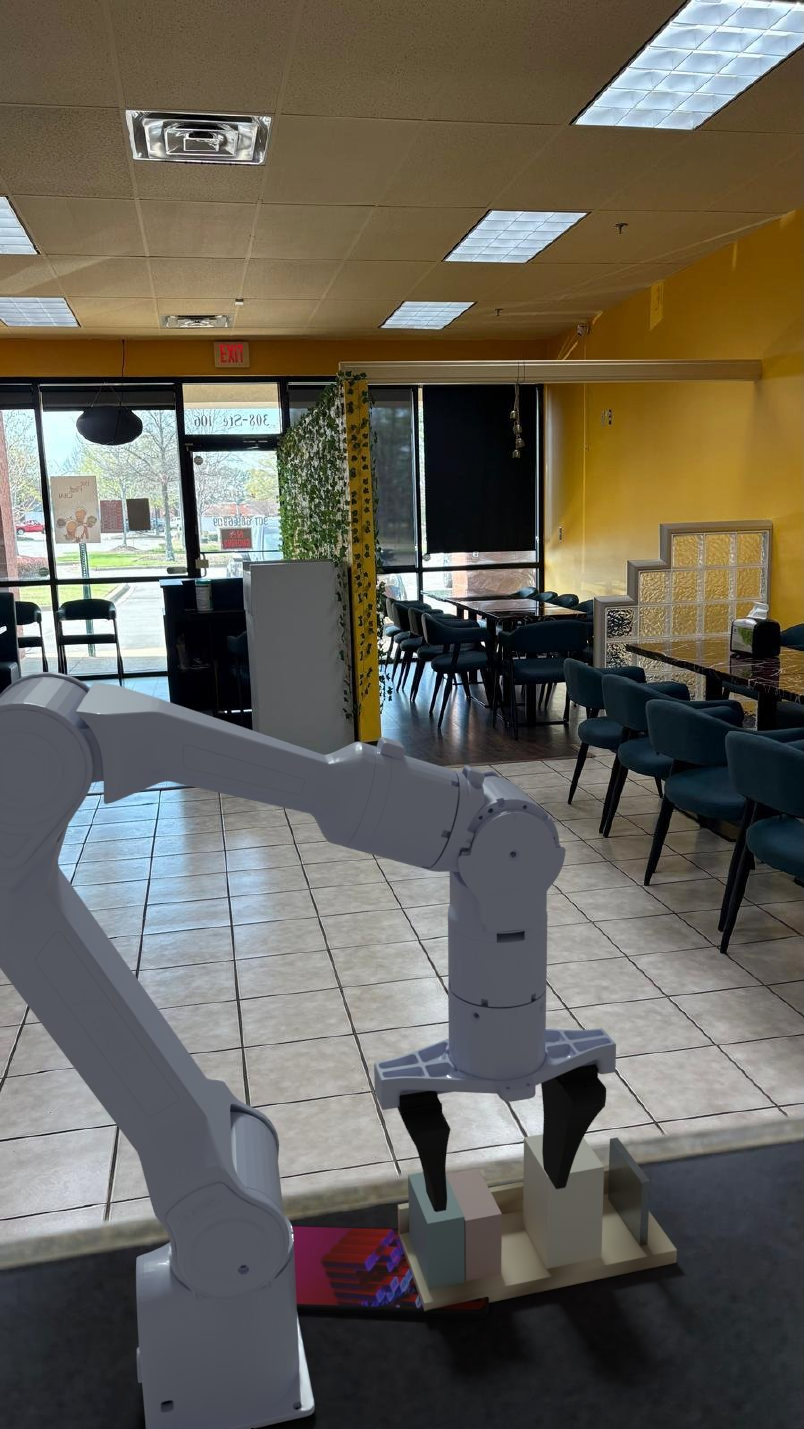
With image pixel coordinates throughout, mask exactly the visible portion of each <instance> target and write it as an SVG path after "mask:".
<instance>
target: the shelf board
mask: <svg viewBox="0 0 804 1429" xmlns="http://www.w3.org/2000/svg"><path fill="white" fill-rule="evenodd" d="M603 1166H604V1185H603V1220H602V1254H601V1258H596V1259H591V1260H587V1261H582V1262H577V1263H572V1264H568V1265H563V1266H558V1267H554V1268H549V1269H546V1267H545V1265H544V1263H543V1261H542V1260H541V1258H540V1256H539V1254H538V1252H537V1250H536V1248H535V1246H534V1244H533V1243H532V1241H531V1239H530V1237H529V1235H528V1233H527V1231H526V1229H525V1228H524V1226H523V1181H519V1182H513V1183H507V1184H502V1185H496V1186H492V1187H488V1188H489V1190H490V1192H491V1194H492V1196H493V1198H494V1200H495V1201H496V1203H497V1205H498V1207H499V1209H500V1211H501V1213H502V1252H501V1274H498V1275H493V1276H488V1277H484V1278H479V1279H474V1280H469V1281H465V1283H460V1284H456V1285H451V1286H446V1287H441V1288H436V1289H432V1290H428V1288H427V1285H426V1282H425V1280H424V1277H423V1274H422V1271H421V1269H420V1266H419V1263H418V1260H417V1258H416V1255H415V1252H414V1249H413V1247H412V1244H411V1241H410V1238H409V1202H406V1203H401V1204H397V1228H398V1237H399V1240H400V1242H401V1245H402V1248H403V1251H404V1254H405V1257H406V1260H407V1262H408V1265H409V1268H410V1271H411V1274H412V1277H413V1280H414V1282H415V1285H416V1288H417V1291H418V1294H419V1297H420V1300H421V1302H422V1305H423V1308H424V1311H426V1310H429V1309H434V1308H439V1307H443V1306H448V1305H452V1304H457V1303H461V1302H466V1301H470V1300H474V1299H478V1298H484V1297H489V1304H490V1303H494V1302H498V1301H502V1300H503V1301H504V1300H508V1299H512V1298H518V1297H523V1296H527V1295H531V1294H536V1293H541V1292H544V1291H546V1292H547V1291H551V1290H554V1289H559V1288H564V1287H568V1286H573V1285H578V1284H582V1283H583V1284H584V1283H587V1282H592V1281H596V1280H601V1279H607V1278H611V1277H615V1276H621V1275H625V1274H629V1273H633V1272H639V1271H643V1270H648V1269H652V1268H659V1267H662V1266H667V1265H672V1264H676V1263H677V1257H678V1254H677V1253H678V1249H677V1248H676V1246H675V1245H674V1244H673V1243H672V1241H671V1239H670V1238H669V1237H668V1235H667V1234H666V1232H665V1231H664V1229H663V1228H662V1227H661V1226H660V1224H659V1223H658V1221H657V1220H656V1219H655V1216H653V1215H652V1213H651V1211H649V1219H648V1244H647V1245H643V1246H639V1245H638V1243H637V1242H636V1240H635V1239H634V1237H633V1236H632V1234H631V1233H630V1231H629V1230H628V1228H627V1227H626V1225H625V1224H624V1222H623V1221H622V1219H621V1218H620V1216H619V1215H618V1213H617V1212H616V1210H615V1209H614V1207H613V1206H612V1204H611V1203H610V1201H609V1200H608V1183H609V1165H603Z"/></svg>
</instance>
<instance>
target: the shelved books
mask: <svg viewBox="0 0 804 1429" xmlns="http://www.w3.org/2000/svg"><path fill="white" fill-rule="evenodd" d="M407 1180H408V1181H407V1182H408V1183H407V1185H408V1186H407V1187H408V1188H407V1189H408V1192H407V1193H408V1203H409V1238H410V1241H411V1244H412V1247H413V1249H414V1252H415V1255H416V1258H417V1260H418V1263H419V1266H420V1269H421V1271H422V1274H423V1277H424V1280H425V1282H426V1285H427V1288H428V1290H432V1289H436V1288H441V1287H446V1286H451V1285H456V1284H460V1283H465V1281H469V1280H474V1279H479V1278H484V1277H488V1276H493V1275H498V1274H501V1252H502V1213H501V1211H500V1209H499V1207H498V1205H497V1203H496V1201H495V1200H494V1198H493V1196H492V1194H491V1192H490V1190H489V1188H490V1187H489V1186H488V1183H487V1182H486V1180H485V1178H484V1176H483V1174H482V1171H481V1170H480V1168H473V1169H466V1170H461V1171H455V1172H450V1173H446V1186H447V1207H446V1210H445V1211H440V1212H435V1211H434V1209H433V1207H432V1205H431V1202H430V1200H429V1197H428V1195H427V1192H426V1185H425V1179H424V1174H423V1171H422V1172H417V1173H413V1174H412V1173H411V1174H408V1175H407Z"/></svg>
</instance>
